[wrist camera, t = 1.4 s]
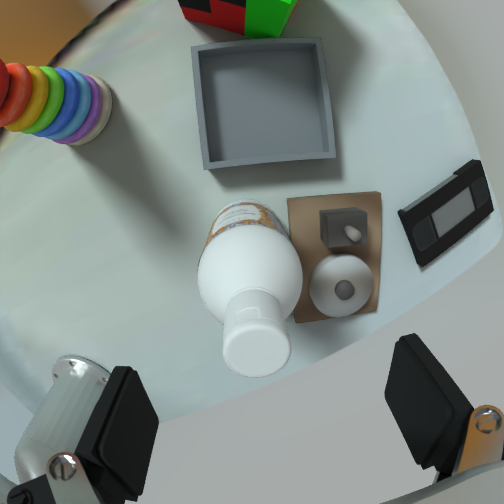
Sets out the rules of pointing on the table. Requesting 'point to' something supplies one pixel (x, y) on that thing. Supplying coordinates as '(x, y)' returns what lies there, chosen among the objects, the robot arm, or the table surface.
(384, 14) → the table surface
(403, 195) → the table surface
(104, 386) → the robot arm
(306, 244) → the board
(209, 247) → the bath foam
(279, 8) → the puzzle toy
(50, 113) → the stacking toy
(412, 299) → the table surface
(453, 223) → the vhs tape
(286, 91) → the tray
